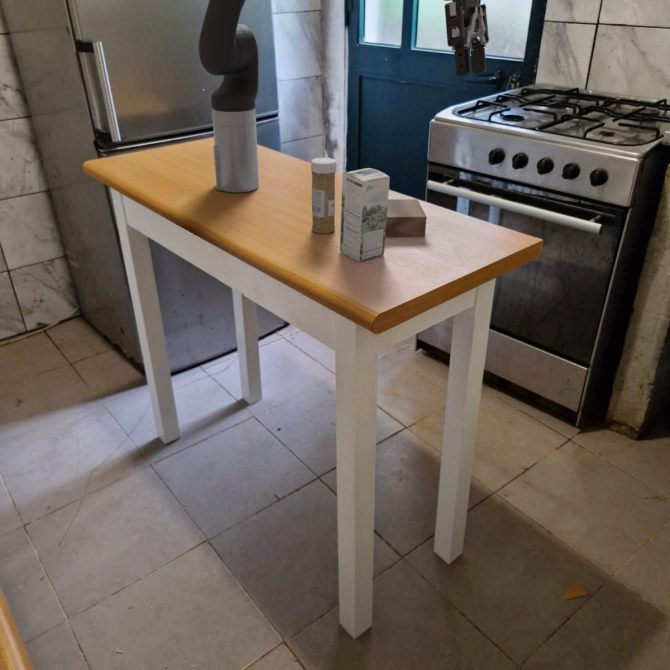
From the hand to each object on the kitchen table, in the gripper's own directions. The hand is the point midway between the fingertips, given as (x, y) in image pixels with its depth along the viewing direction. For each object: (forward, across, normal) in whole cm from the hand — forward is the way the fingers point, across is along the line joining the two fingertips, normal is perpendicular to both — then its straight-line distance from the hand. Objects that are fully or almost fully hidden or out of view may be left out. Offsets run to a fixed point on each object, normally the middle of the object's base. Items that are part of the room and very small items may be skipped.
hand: (472, 74), depth 102 cm
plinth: (+25, -3, -19) cm, 31 cm away
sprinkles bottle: (+23, +5, -30) cm, 38 cm away
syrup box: (+26, +12, -19) cm, 34 cm away
